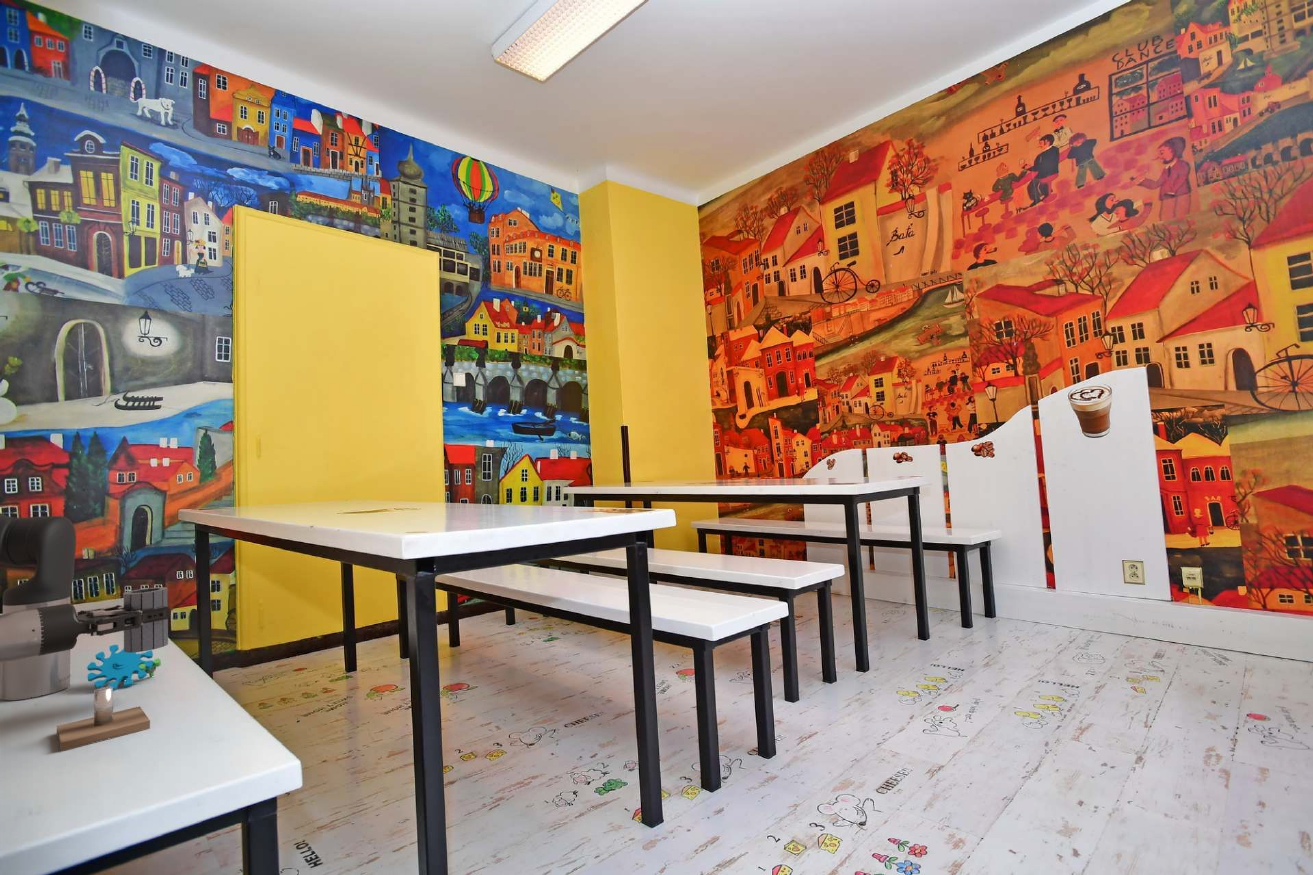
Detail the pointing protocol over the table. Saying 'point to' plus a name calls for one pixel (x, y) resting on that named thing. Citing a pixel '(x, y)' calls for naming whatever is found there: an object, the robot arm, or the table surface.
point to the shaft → (103, 706)
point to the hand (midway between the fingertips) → (162, 610)
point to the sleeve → (151, 632)
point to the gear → (121, 667)
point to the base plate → (101, 728)
